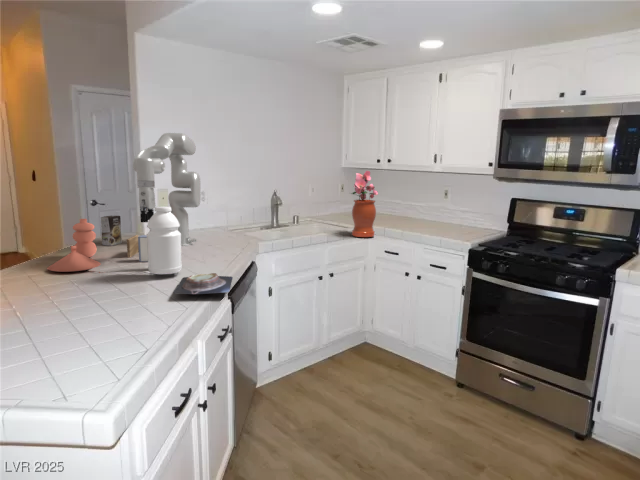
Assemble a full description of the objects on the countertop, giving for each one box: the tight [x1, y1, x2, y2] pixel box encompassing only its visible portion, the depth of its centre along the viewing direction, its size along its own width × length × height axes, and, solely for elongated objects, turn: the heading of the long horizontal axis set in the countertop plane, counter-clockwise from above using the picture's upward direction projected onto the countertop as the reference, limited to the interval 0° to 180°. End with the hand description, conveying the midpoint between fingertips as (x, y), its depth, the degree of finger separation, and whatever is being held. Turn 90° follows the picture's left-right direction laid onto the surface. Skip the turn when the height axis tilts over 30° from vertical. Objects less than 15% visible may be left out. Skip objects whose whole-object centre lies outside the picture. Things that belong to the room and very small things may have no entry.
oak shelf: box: [126, 234, 139, 259], centre depth 217 cm, size 14×15×9 cm
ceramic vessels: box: [47, 218, 102, 273], centre depth 196 cm, size 35×21×19 cm, turn 16°
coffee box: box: [100, 215, 123, 246], centre depth 242 cm, size 9×6×16 cm
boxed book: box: [138, 234, 148, 263], centre depth 204 cm, size 8×5×12 cm, turn 96°
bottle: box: [146, 205, 183, 275], centre depth 184 cm, size 14×14×28 cm
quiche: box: [172, 272, 233, 295], centre depth 166 cm, size 21×20×4 cm
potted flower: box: [349, 170, 379, 238], centre depth 292 cm, size 19×25×45 cm
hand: (147, 221), depth 201 cm, fingers open, 9 cm apart
